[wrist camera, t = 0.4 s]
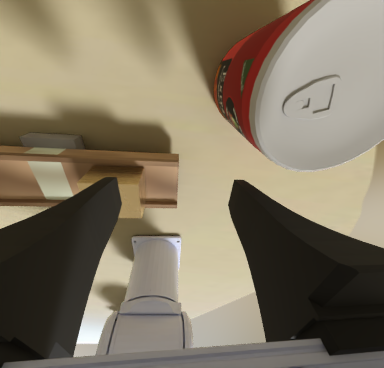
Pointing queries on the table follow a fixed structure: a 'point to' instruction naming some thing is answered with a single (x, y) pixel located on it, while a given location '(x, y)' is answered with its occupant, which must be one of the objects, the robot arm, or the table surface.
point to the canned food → (309, 84)
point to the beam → (75, 170)
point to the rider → (121, 187)
